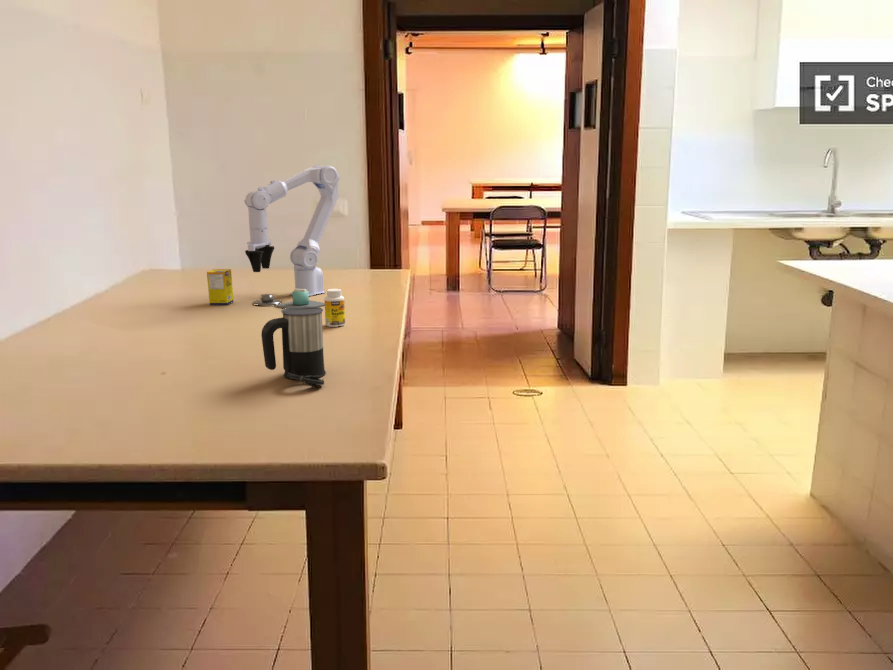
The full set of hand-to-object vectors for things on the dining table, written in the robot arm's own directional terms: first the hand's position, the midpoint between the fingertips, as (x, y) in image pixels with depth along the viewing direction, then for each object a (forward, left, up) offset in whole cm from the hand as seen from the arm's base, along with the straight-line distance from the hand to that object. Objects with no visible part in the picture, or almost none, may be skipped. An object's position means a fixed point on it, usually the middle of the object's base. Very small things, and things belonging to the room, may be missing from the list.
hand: (261, 270), depth 261 cm
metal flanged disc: (+3, +6, -10) cm, 12 cm away
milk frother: (+52, +82, -10) cm, 97 cm away
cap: (-1, +18, -9) cm, 20 cm away
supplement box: (+12, -6, -10) cm, 17 cm away
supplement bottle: (+12, +47, -10) cm, 50 cm away
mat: (-1, +18, -10) cm, 21 cm away
